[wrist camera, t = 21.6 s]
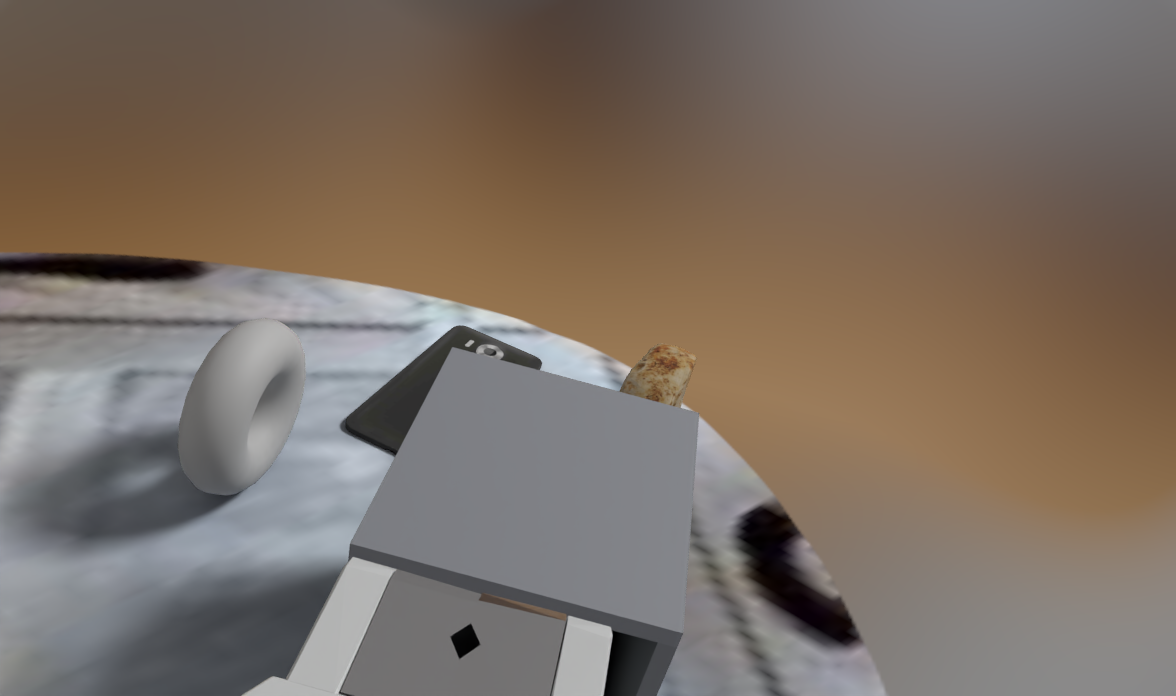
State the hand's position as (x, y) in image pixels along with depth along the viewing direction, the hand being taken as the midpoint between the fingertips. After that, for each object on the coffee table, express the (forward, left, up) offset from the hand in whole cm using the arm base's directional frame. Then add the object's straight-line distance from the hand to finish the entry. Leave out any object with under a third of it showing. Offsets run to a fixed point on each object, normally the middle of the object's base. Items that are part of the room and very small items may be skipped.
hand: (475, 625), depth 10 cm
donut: (+14, +31, -30) cm, 46 cm away
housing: (+17, +12, -30) cm, 37 cm away
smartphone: (+29, +31, -31) cm, 53 cm away
